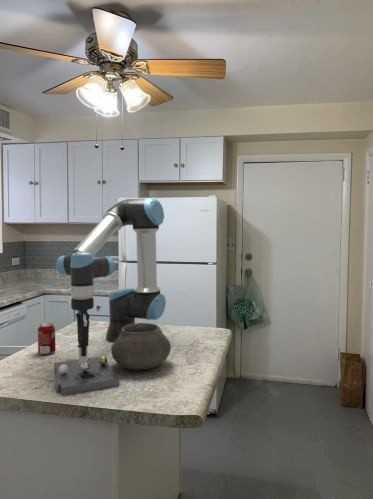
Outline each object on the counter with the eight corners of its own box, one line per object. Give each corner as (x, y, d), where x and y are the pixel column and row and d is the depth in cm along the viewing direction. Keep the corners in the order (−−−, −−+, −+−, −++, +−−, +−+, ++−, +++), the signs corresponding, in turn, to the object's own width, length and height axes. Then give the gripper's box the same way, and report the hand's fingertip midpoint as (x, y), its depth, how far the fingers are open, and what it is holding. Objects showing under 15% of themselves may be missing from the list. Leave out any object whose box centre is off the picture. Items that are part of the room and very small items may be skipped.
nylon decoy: (67, 371, 132) (67, 362, 132) (68, 374, 130) (68, 365, 129) (58, 372, 131) (58, 363, 131) (59, 375, 128) (59, 366, 128)
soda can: (49, 356, 155) (49, 327, 155) (34, 355, 157) (34, 326, 156) (58, 351, 162) (58, 323, 161) (44, 350, 163) (43, 322, 163)
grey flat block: (51, 370, 140) (51, 363, 140) (106, 362, 148) (106, 355, 148) (58, 396, 118) (58, 388, 118) (122, 385, 126) (121, 377, 126)
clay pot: (122, 382, 129) (121, 338, 128) (104, 362, 148) (104, 324, 147) (180, 371, 139) (180, 330, 138) (156, 354, 158) (156, 318, 157)
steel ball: (90, 371, 131) (89, 370, 134) (90, 361, 131) (88, 361, 134) (81, 372, 130) (79, 371, 133) (80, 363, 130) (79, 362, 133)
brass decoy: (106, 362, 141) (106, 354, 141) (108, 365, 138) (108, 357, 138) (98, 363, 140) (98, 355, 139) (99, 366, 137) (99, 358, 137)
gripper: (68, 295, 138) (69, 359, 139) (73, 301, 126) (74, 372, 127) (90, 293, 141) (90, 357, 142) (96, 299, 129) (97, 368, 130)
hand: (83, 364), depth 134 cm, fingers closed
